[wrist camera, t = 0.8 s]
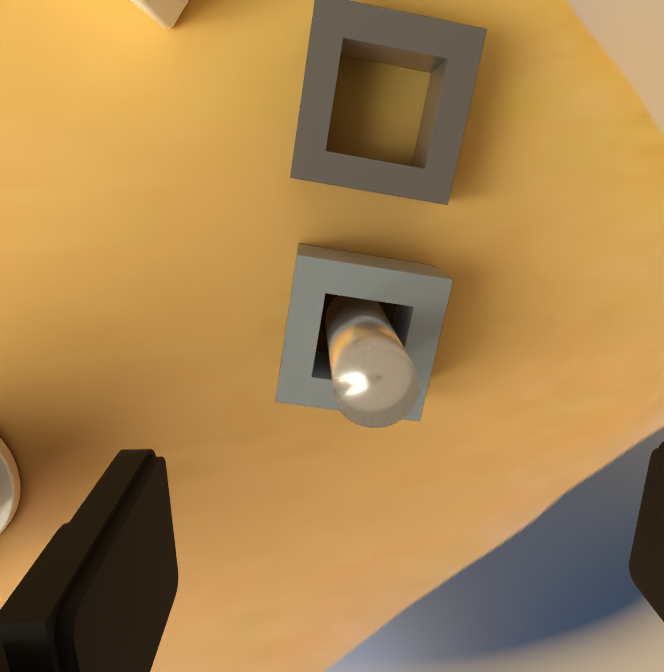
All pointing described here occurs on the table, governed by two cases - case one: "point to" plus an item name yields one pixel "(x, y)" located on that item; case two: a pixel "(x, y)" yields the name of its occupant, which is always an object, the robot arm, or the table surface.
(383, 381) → the steel rod
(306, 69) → the grey square ring
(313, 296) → the socket block
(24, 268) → the table surface
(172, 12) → the medicine bottle
